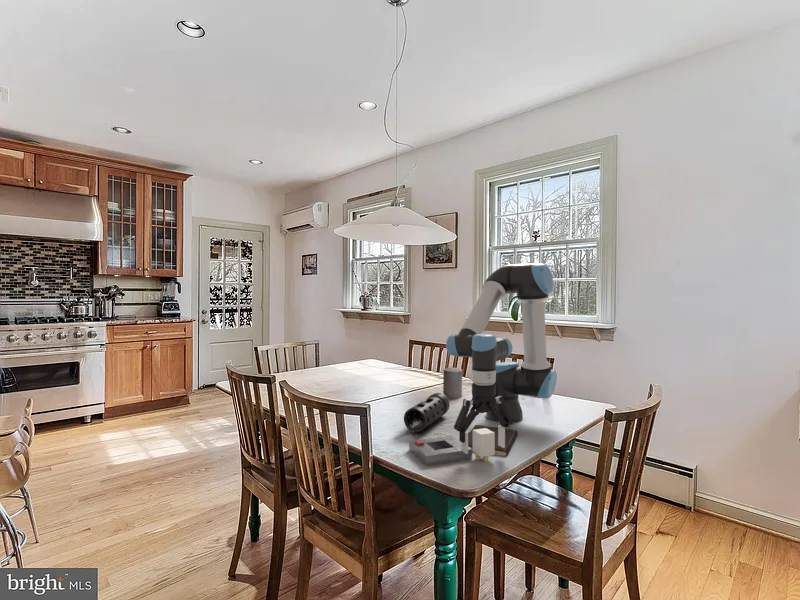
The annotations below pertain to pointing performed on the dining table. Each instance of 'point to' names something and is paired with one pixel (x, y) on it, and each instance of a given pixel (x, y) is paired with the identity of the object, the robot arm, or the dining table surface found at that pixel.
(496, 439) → the hardcover book
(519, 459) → the dining table surface
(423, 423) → the muzzle brake
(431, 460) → the socket plate
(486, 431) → the plug
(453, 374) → the pillar candle
